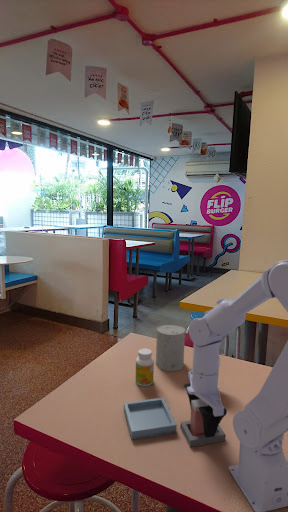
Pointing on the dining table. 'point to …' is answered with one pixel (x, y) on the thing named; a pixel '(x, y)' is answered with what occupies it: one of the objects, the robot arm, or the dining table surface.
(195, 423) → the red and grey block
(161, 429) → the parts tray
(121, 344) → the dining table surface
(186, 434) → the grey rectangular frame
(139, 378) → the supplement bottle
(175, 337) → the speckled stone cylinder
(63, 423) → the dining table surface
